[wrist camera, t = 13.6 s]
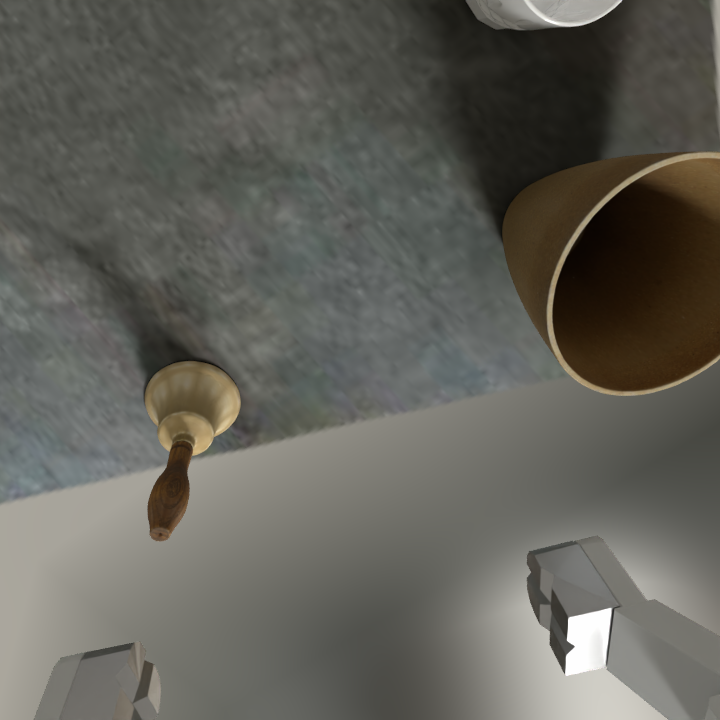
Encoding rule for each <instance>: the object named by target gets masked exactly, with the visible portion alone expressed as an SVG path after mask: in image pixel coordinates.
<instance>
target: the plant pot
mask: <svg viewBox="0 0 720 720" xmlns="http://www.w3.org/2000/svg"><path fill="white" fill-rule="evenodd" d="M502 237H503V245H504V251H505V256H506V261H507V264H508V268H509V271H510V274H511V277H512V280H513V283H514V285H515V288H516V290H517V292H518V295H519V297H520V299H521V301H522V303H523V305H524V307H525V309H526V311H527V313H528V315H529V317H530V319H531V320H532V322H533V324H534V326H535V327H536V329H537V330H538V332H539V334H540V335H541V337H542V338H543V340H544V341H545V343H546V344H547V346H548V347H549V349H550V350H551V352H552V353H553V354H554V356H555V357H556V359H557V360H558V362H559V363H560V364H561V366H562V367H563V368H564V369H565V371H566V372H567V373H568V374H569V375H570V376H571V377H573V378H574V379H575V380H576V381H578V382H579V383H581V384H582V385H584V386H586V387H588V388H590V389H592V390H595V391H598V392H601V393H605V394H610V395H622V396H627V395H643V394H648V393H653V392H657V391H661V390H663V389H667V388H670V387H672V386H675V385H677V384H680V383H682V382H684V381H686V380H688V379H690V378H692V377H694V376H695V375H697V374H699V373H701V372H702V371H704V370H705V369H707V368H708V367H709V366H711V365H712V364H714V363H715V362H717V361H718V360H719V359H720V152H709V151H704V152H674V153H659V154H645V155H633V156H625V157H618V158H611V159H605V160H600V161H595V162H591V163H587V164H583V165H579V166H575V167H572V168H568V169H565V170H562V171H559V172H556V173H554V174H551V175H549V176H547V177H544V178H542V179H540V180H538V181H536V182H534V183H532V184H531V185H529V186H527V187H526V188H524V189H523V190H522V191H521V192H520V193H519V194H518V195H517V196H516V197H515V198H514V200H513V201H512V202H511V204H510V205H509V207H508V209H507V211H506V214H505V217H504V220H503V227H502Z"/></svg>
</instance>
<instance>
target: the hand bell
mask: <svg viewBox="0 0 720 720" xmlns="http://www.w3.org/2000/svg"><path fill="white" fill-rule="evenodd" d="M240 404H241V403H240V394H239V391H238V388H237V386H236V384H235V383H234V381H233V380H232V379H231V378H230V377H229V376H228V375H227V374H226V373H225V372H224V371H222V370H221V369H219V368H217V367H215V366H213V365H210V364H207V363H203V362H197V361H184V362H177V363H174V364H171V365H168V366H167V367H165V368H163V369H161V370H160V371H158V372H157V373H156V374H155V375H154V376H153V377H152V379H151V380H150V382H149V383H148V385H147V388H146V392H145V406H146V409H147V412H148V414H149V416H150V418H151V419H152V421H153V422H154V423H155V424H156V425H157V426H158V431H157V433H158V438H159V441H160V443H161V444H162V446H163V447H164V448H165V449H167V450H168V451H169V452H170V454H169V459H168V464H167V467H166V469H165V471H164V472H163V473H162V474H161V476H160V477H159V478H158V479H157V481H156V483H155V485H154V487H153V489H152V492H151V494H150V498H149V501H148V520H149V524H150V536H151V538H152V539H153V540H156V541H164V540H167V539H168V538H169V537H170V535H171V533H172V531H173V530H174V528H175V527H176V526H177V524H178V523H179V522H180V520H181V519H182V517H183V515H184V513H185V511H186V507H187V504H188V499H189V489H190V488H189V480H188V476H187V470H188V466H189V463H190V460H191V456H193V455H197V454H199V453H201V452H203V451H205V450H206V449H207V448H208V447H209V446H210V444H211V443H212V441H213V438H214V437H215V436H217V435H219V434H221V433H222V432H224V431H225V430H226V429H228V428H229V427H230V426H231V425H232V423H233V422H234V421H235V419H236V418H237V416H238V413H239V410H240Z"/></svg>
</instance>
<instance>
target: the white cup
mask: <svg viewBox="0 0 720 720" xmlns="http://www.w3.org/2000/svg"><path fill="white" fill-rule="evenodd" d="M465 1H466V2H467V4H468V5H469V7H470V8H471V10H472V12H473V13H474V15H475V16H476V18H477V19H478V20H479V21H481V22H483V23H485V24H486V25H488V26H490V27H492V28H494V29H496V30H498V29H514V30H537V29H550V28H561V27H573V26H580V25H585V24H588V23H591V22H593V21H595V20H597V19H599V18H601V17H603V16H604V15H606V14H607V13H609V12H610V11H611V10H613V9H614V8H615V7H616V6H617V5H618V4H619V3H620V2H621V1H622V0H465Z"/></svg>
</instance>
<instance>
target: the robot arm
mask: <svg viewBox="0 0 720 720" xmlns="http://www.w3.org/2000/svg"><path fill="white" fill-rule="evenodd" d="M527 565H528V567H529V569H530V571H531V573H530V575H529V576H528V577H527V590H528V594H529V599H530V603H531V605H532V608H533V611H534V613H535V615H536V617H537V619H538V622H539V623H540V625H542V626H543V627H545V628H546V629H548V630H549V631H550V646H551V648H552V650H553V652H554V654H555V656H556V658H557V660H558V662H559V664H560V666H561V668H562V670H563V672H564V674H565V676H567V675H572V674H576V673H581V672H585V671H591V670H595V669H600V668H605V667H607V670H608V671H609V672H610V673H612V674H613V675H614V676H615V677H617V678H618V679H619V680H620V681H621V682H623V683H624V684H625V685H626V686H628V687H629V688H630V689H631V690H633V691H634V692H635V693H636V694H638V695H639V696H640V697H641V698H643V699H644V700H645V701H646V702H647V703H649V704H650V705H651V706H652V707H654V708H655V709H656V710H657V711H658V712H660V713H661V714H662V715H663V716H665V717H666V718H667V719H668V720H720V636H718V635H717V634H715V633H713V632H712V631H709V630H708V629H706V628H704V627H703V626H701V625H699V624H697V623H696V622H694V621H692V620H690V619H688V618H687V617H685V616H683V615H682V614H680V613H678V612H676V611H674V610H673V609H671V608H669V607H667V606H665V605H664V604H662V603H660V602H658V601H657V600H649V601H647V599H646V598H645V596H644V595H643V594H642V592H641V591H640V590H639V588H638V587H637V586H636V584H635V583H634V582H633V580H632V579H631V577H630V576H629V575H628V573H627V572H626V570H625V569H624V568H623V566H622V565H621V564H620V562H619V561H618V560H617V558H616V557H615V555H614V554H613V553H612V551H611V550H610V549H609V547H608V546H607V544H606V543H605V542H604V541H603V539H602V538H600V537H598V536H594V537H589V538H585V539H581V540H577V541H574V542H573V541H570V542H566V543H561V544H558V545H553V546H549V547H545V548H541V549H537V550H533V551H529V553H528V555H527ZM145 655H146V650H145V648H144V647H143V645H142V643H141V642H140V641H139V642H134V643H129V644H124V645H119V646H114V647H110V648H105V649H100V650H95V651H90V652H85V653H80V654H76V655H71V656H67V657H62V658H60V660H59V661H58V662H57V664H56V665H55V666H54V668H53V671H52V673H51V676H50V679H49V681H48V684H47V686H46V689H45V692H44V694H43V697H42V700H41V702H40V705H39V708H38V710H37V713H36V715H35V718H34V720H155V718H156V717H157V715H158V713H159V707H160V701H161V682H160V678H159V674H158V671H157V669H156V667H155V666H154V664H152V663H150V662H147V661H145Z"/></svg>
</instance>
